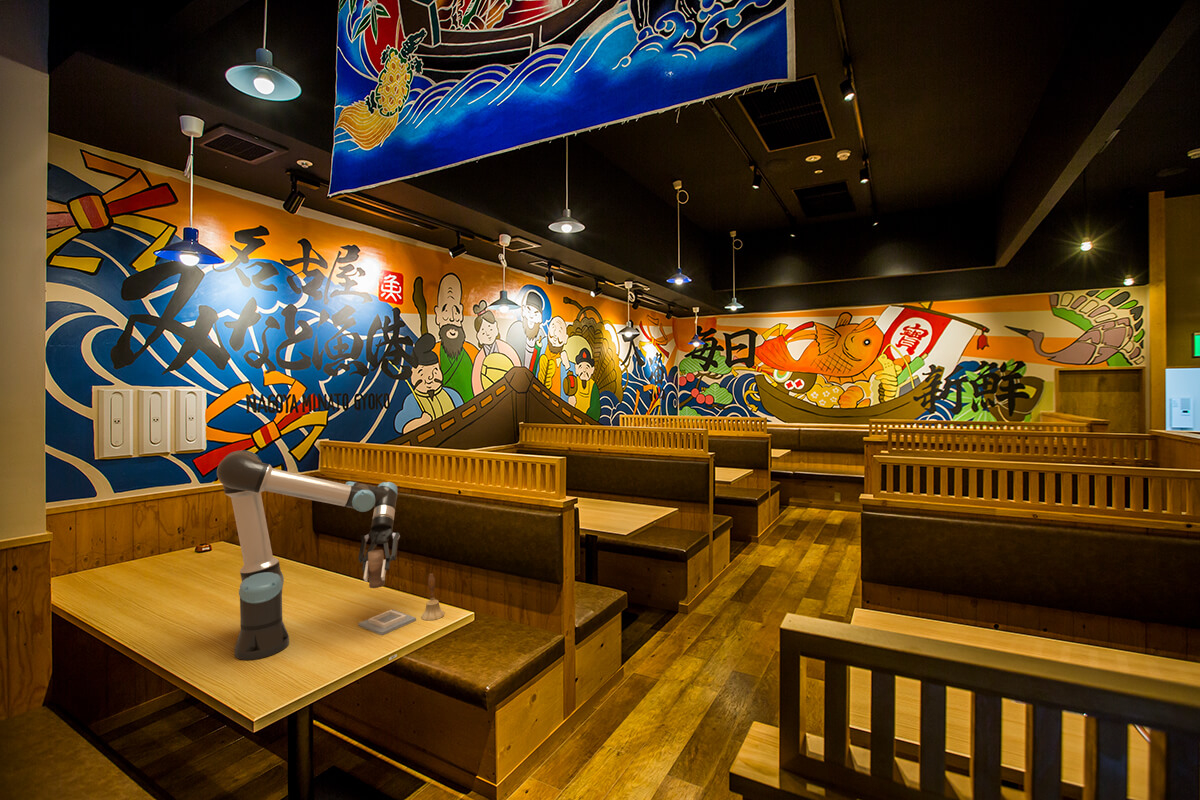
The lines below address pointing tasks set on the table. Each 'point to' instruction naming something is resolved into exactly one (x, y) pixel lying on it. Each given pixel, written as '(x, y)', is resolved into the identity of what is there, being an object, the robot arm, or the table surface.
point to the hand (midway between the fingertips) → (374, 579)
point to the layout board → (387, 622)
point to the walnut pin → (375, 568)
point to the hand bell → (432, 603)
